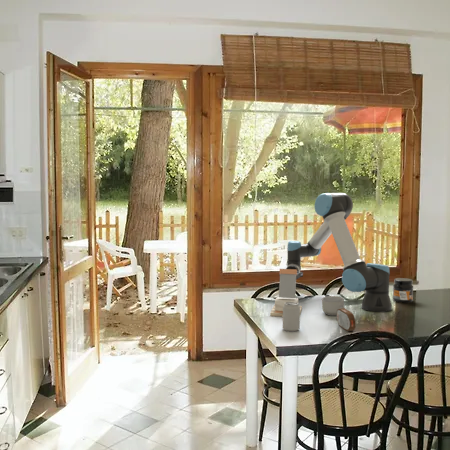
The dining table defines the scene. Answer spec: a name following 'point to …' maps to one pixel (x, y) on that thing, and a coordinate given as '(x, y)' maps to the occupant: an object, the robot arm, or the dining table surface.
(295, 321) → the can
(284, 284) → the grey orange box
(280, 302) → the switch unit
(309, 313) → the dining table surface
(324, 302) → the light grey rounded block
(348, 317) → the tin
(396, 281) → the supplement container
